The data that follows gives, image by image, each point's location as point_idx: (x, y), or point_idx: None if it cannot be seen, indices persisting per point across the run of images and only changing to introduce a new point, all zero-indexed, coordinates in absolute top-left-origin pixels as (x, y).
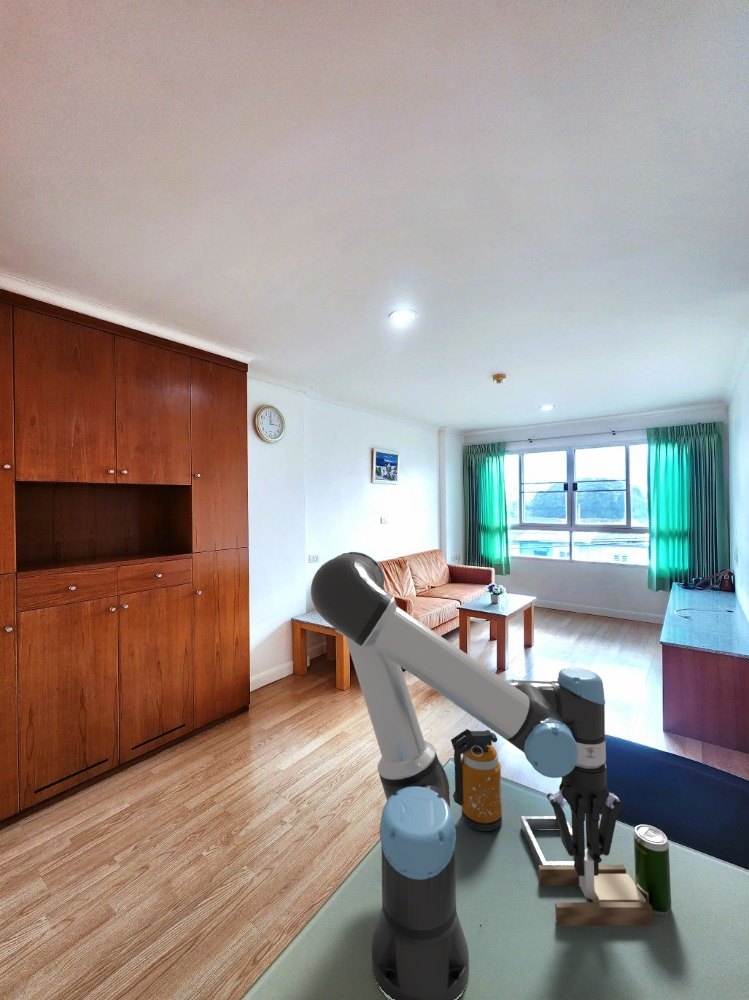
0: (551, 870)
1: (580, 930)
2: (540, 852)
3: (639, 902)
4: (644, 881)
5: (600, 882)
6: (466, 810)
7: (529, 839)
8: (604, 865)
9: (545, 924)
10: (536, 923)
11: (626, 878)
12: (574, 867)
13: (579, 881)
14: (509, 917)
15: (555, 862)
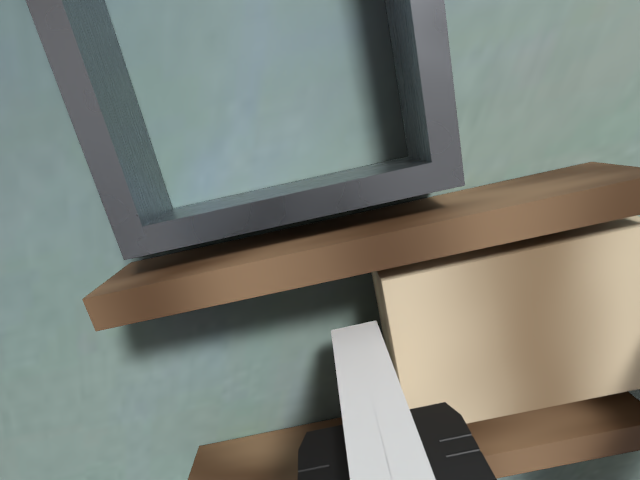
0: (170, 314)
1: None
2: (102, 144)
3: (612, 431)
4: None
5: (455, 324)
6: None
7: None
8: (538, 202)
9: (156, 468)
10: (120, 472)
11: (629, 265)
12: (300, 451)
13: (333, 343)
14: (9, 471)
15: (206, 219)
